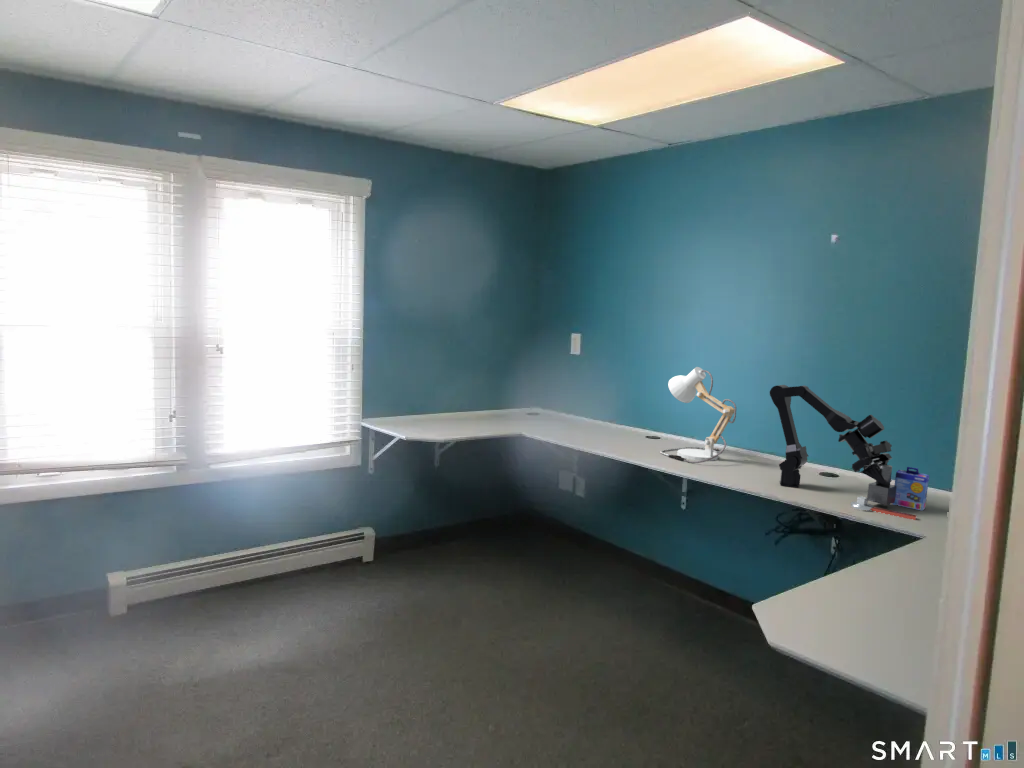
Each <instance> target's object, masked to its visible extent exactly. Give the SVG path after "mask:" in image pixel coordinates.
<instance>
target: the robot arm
mask: <svg viewBox="0 0 1024 768" xmlns="http://www.w3.org/2000/svg"><path fill="white" fill-rule="evenodd" d="M769 396H770V398H771V401H772V403H773V404H774V406H775V407H776V408H777V411H778V416H779V419H780V420H779V421H780V422H781V428H782V431H783V436H784V439H785V443H786V447H785V460H783V461H782V462H781V463H779V464H778V465H779V466H778V467H779V470H780V478H779V481H778V482H779V485H780V486H782V487H789V488H790V487H791V488H799V486H800V485H801V474H800V470H801V468H802V467H803V466H805V464H806V463H807V462H808V457H809V455H808V454H809V453H808V451H807V446H806V445H804V446H802V444H801V443H800V440H799V437H798V433H797V428H796V425H795V421H794V416H793V413H792V409H791V404H792V403H791V402H792V397H800V398H801V399H802V400H803V401H804V402H806V403H807V404H808V405H810V406H811V407H812V408H813V409H814V410H815V411H816V412H818V413H819V414H820V415H822V417H823V418H824V419H825V420H826V422H827V424H828V425H829V426H830V428H832V430H833V431H835V432H838V433H842V434H839V437H838V440H837V441H838V442H839V443H843V442H846V443H847V445H848V446H849V448H850V450H851V451H852V452H851V454H852V455H853V456H856V457H857V458H858V460H856V461H855V462H854V463H852V464H851V469H852V470H853V472H854V473H858V472H860V473H861V474H863V475H866V476H867V477H869V478H870V479H873V480H875V482H876V481H878V482H879V483H881V484H885V481H884V479H883V477H882V475H881V474H880V472H879V470H878V464H886V465H888V463H889V461H890V460H893V457H892V455H891V454H890V453H889V452H892V446H893V445H892V444H891V443H890V442H889V441H888V440H883V441H879V444H876V445H874V444H873V443H870V442H869V443H868V441H867V440H866V439H865V438H868V439H872V438H873V437H875V436H876V435H879V433H882V432H883V431H884V430H885V426H884V424H883V422H882V421H880V420H878V418H876V417H874V416H873V414H869V415H867V416H866V417H864V419H862V420H861V421H857V420H854V419H852V418H851V416H849V415H846V414H845V413H843V412H842V411H839V410H836V409H835V408H833V407H832V406H831V405H829V404H828V403H827V402H826V401H825V400H824V399H822V398H821V397H820V396H819V395H817V394H816V393H815V392H814V391H813V390H811V389H810V388H809V386H808V385H798V386H787V385H786V384H778V385H774V386H772V387H771V388H770V390H769ZM844 432H845V433H844ZM843 433H844V434H843ZM861 469H862V470H861ZM892 481H893V480H892V479H891V481H890V483H891V482H892Z"/></svg>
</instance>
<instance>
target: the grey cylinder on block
mask: <svg viewBox="0 0 1024 768" xmlns="http://www.w3.org/2000/svg"><path fill="white" fill-rule="evenodd" d="M878 470H879V472H880V474H881V475H882V477H883V479H884V481H885V484H881V483H879V482H878V481H876V480H875V481H874V482H870V483H869V484H868V489H867V497H866V498H868V502H871V503H872V502H873V503H877V504H880V505H883V506H887V505H892V503H895V496H896V489H897V486H895V484H891V482H892V481H891V480H892V473H893V472H892V471H893V466H892V465H890V464H887V465H886V464H878ZM890 481H891V482H890Z"/></svg>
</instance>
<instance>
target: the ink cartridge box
mask: <svg viewBox="0 0 1024 768" xmlns="http://www.w3.org/2000/svg"><path fill="white" fill-rule="evenodd" d="M929 481H930V475H929V474H926V473H920V472H919V468H918V467H912V466H907V467H906V470H903V469H898V470H896V471H895V477H894V485H895V486H897V489H896V496H895V503H892V504H893V505H894V506H897V505H898V507H903V508H907V509H913V510H916V511H924V510H925V508H926V504H927V497H928V489H929ZM892 504H891V505H892Z"/></svg>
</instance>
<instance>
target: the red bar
mask: <svg viewBox="0 0 1024 768" xmlns="http://www.w3.org/2000/svg"><path fill="white" fill-rule="evenodd" d="M856 497H857V499H856V501H851V502H850V505H851V507H853V508H856V509H861V510H867V511H866V512H873V511H876V512H875V513H878V512H881V513H880V514H883V513H885V514H884V515H888V514H890V515H889V516H893V515H894V516H893V517H897V516H899V518H902V517H903V519H909V520H912V519H913V521H916V520H917V517H918V516H917V514H911V513H907V512H901V511H896V510H891V509H886V508H881V507H878V506H877V507H876V506H874V505H873V504H871V503H869V501H868V498H867V497H865V496H862V495H861V496H856ZM851 507H850V508H851ZM853 508H852V509H853ZM856 509H855V510H856ZM870 510H872V511H870Z"/></svg>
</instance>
